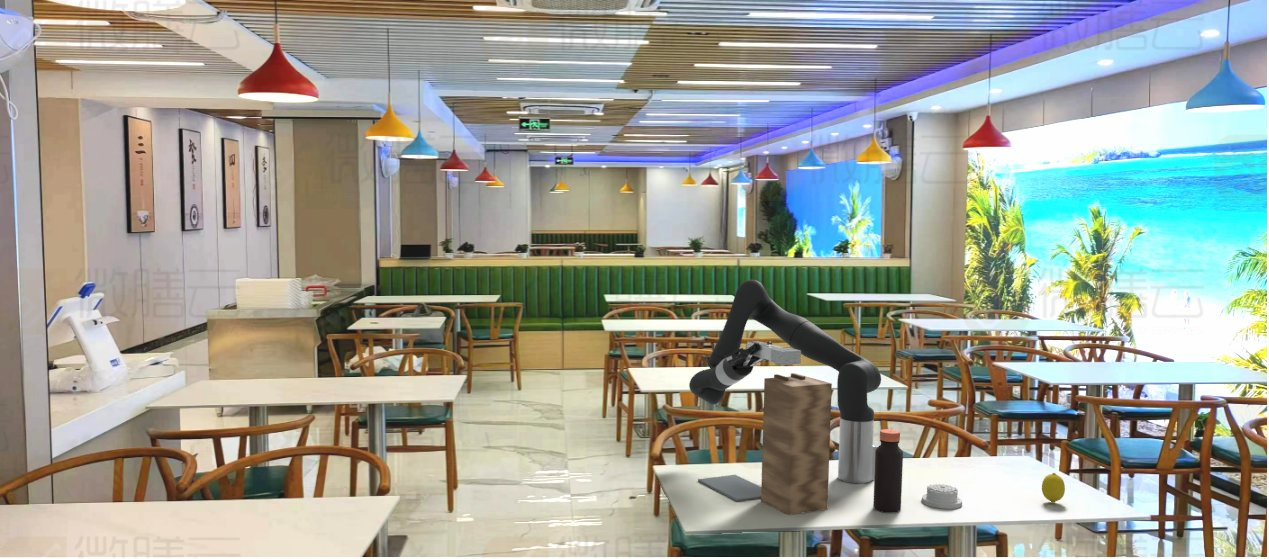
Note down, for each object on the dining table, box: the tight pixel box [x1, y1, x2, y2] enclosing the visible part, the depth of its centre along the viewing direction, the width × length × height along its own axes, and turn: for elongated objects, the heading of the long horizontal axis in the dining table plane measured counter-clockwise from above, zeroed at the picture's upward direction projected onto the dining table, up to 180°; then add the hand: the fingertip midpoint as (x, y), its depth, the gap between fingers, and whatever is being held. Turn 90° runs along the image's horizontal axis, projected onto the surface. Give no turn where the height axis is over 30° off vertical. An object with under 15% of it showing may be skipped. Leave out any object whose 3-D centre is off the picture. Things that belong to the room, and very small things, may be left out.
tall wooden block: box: [760, 372, 833, 516], centre depth 243 cm, size 12×12×33 cm
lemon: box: [1041, 472, 1066, 503], centre depth 250 cm, size 6×6×8 cm
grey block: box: [746, 340, 802, 366], centre depth 252 cm, size 6×18×3 cm, turn 26°
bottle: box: [872, 428, 904, 514], centre depth 242 cm, size 7×7×20 cm
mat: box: [697, 474, 761, 503], centre depth 258 cm, size 12×20×1 cm, turn 26°
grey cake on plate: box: [921, 483, 963, 510], centre depth 248 cm, size 10×4×10 cm
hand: (764, 345), depth 255 cm, fingers closed on grey block, 3 cm apart
